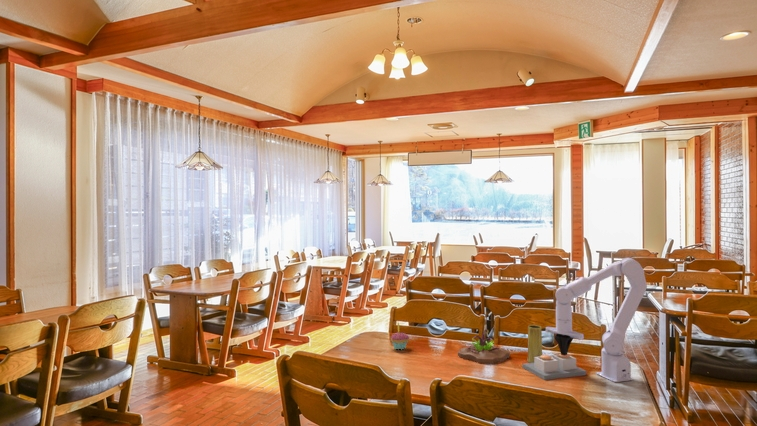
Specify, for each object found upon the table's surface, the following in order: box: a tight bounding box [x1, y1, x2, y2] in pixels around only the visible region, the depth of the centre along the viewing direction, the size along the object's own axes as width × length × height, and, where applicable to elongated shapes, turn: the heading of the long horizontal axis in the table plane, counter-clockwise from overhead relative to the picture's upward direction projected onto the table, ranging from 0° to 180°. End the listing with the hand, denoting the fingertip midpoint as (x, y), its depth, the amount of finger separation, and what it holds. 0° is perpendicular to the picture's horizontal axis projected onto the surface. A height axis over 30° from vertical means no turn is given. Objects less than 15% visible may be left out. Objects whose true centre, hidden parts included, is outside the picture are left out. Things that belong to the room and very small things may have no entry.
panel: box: [521, 354, 587, 381], centre depth 175 cm, size 14×18×5 cm
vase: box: [526, 324, 543, 363], centre depth 186 cm, size 6×6×14 cm
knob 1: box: [541, 354, 552, 361], centre depth 173 cm, size 4×4×5 cm
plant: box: [457, 328, 511, 365], centre depth 195 cm, size 20×20×11 cm
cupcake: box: [390, 322, 410, 350], centre depth 206 cm, size 9×8×12 cm
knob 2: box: [558, 352, 571, 359], centre depth 175 cm, size 4×4×5 cm
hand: (564, 354), depth 175 cm, fingers closed, pressing on knob 2
